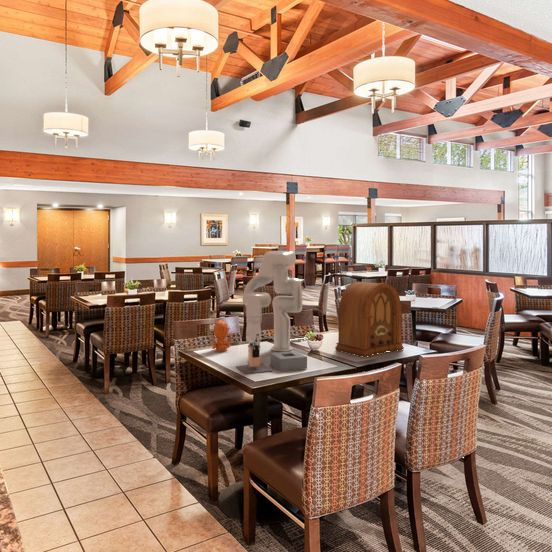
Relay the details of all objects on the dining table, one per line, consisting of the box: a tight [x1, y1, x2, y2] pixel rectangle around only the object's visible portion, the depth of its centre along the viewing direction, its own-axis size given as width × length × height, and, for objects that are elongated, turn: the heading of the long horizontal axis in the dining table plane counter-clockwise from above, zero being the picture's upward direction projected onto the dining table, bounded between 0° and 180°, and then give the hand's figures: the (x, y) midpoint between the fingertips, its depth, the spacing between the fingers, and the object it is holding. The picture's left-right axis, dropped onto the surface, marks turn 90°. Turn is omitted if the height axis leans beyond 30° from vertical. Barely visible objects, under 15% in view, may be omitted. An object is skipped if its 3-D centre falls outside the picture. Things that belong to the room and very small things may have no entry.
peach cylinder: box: [247, 344, 261, 367], centre depth 235 cm, size 5×5×10 cm
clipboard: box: [263, 333, 305, 343], centre depth 314 cm, size 19×2×30 cm
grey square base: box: [270, 350, 308, 372], centre depth 241 cm, size 14×14×6 cm
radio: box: [334, 281, 405, 358], centre depth 278 cm, size 33×23×40 cm
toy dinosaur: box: [211, 319, 232, 352], centre depth 277 cm, size 11×11×18 cm
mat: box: [236, 363, 273, 375], centre depth 235 cm, size 14×14×1 cm
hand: (254, 355), depth 235 cm, fingers closed on peach cylinder, 4 cm apart
